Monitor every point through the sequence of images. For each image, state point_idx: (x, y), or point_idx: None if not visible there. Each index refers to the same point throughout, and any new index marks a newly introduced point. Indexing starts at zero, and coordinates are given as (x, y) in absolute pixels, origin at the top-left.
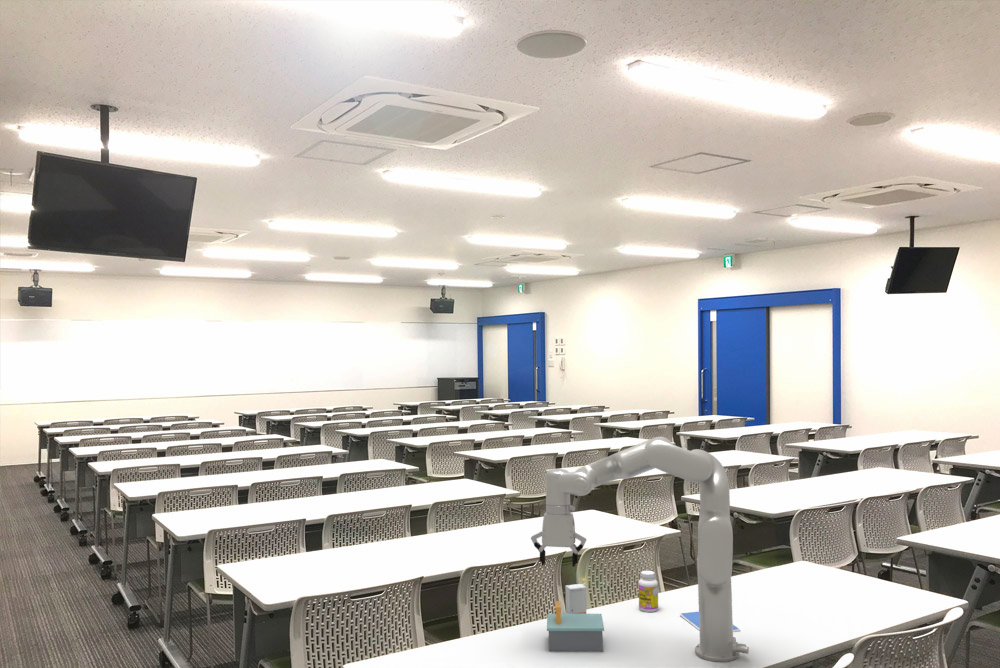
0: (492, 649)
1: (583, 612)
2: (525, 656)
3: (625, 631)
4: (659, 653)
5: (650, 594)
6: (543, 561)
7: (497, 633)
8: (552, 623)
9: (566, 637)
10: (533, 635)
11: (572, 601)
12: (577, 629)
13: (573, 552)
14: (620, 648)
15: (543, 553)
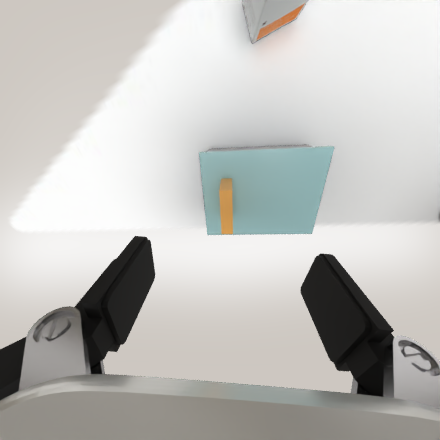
0: (128, 197)
1: (298, 7)
2: (182, 219)
3: (375, 87)
4: (384, 203)
5: None
6: (146, 291)
7: (105, 120)
8: (215, 212)
9: None
10: (176, 128)
11: (271, 6)
12: (262, 233)
13: (351, 370)
14: (328, 186)
15: (122, 340)
